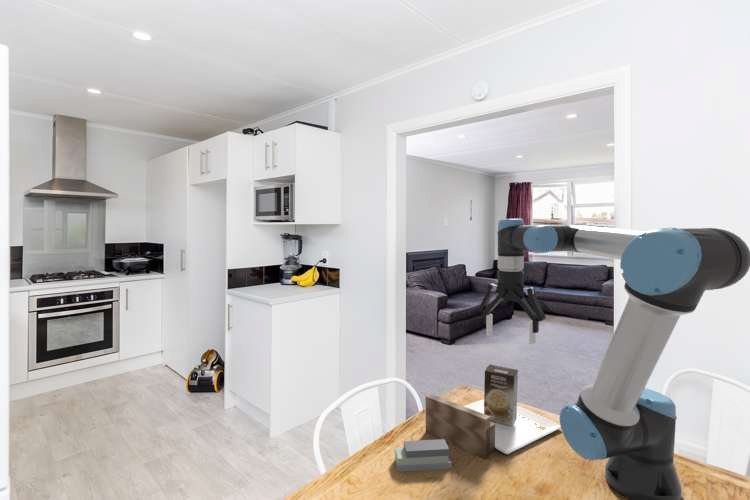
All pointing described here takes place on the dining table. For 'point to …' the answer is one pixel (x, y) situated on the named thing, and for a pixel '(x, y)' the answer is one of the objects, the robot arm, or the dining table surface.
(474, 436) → the walnut block
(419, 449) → the sleeved eraser
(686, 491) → the dining table surface
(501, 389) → the coffee box
